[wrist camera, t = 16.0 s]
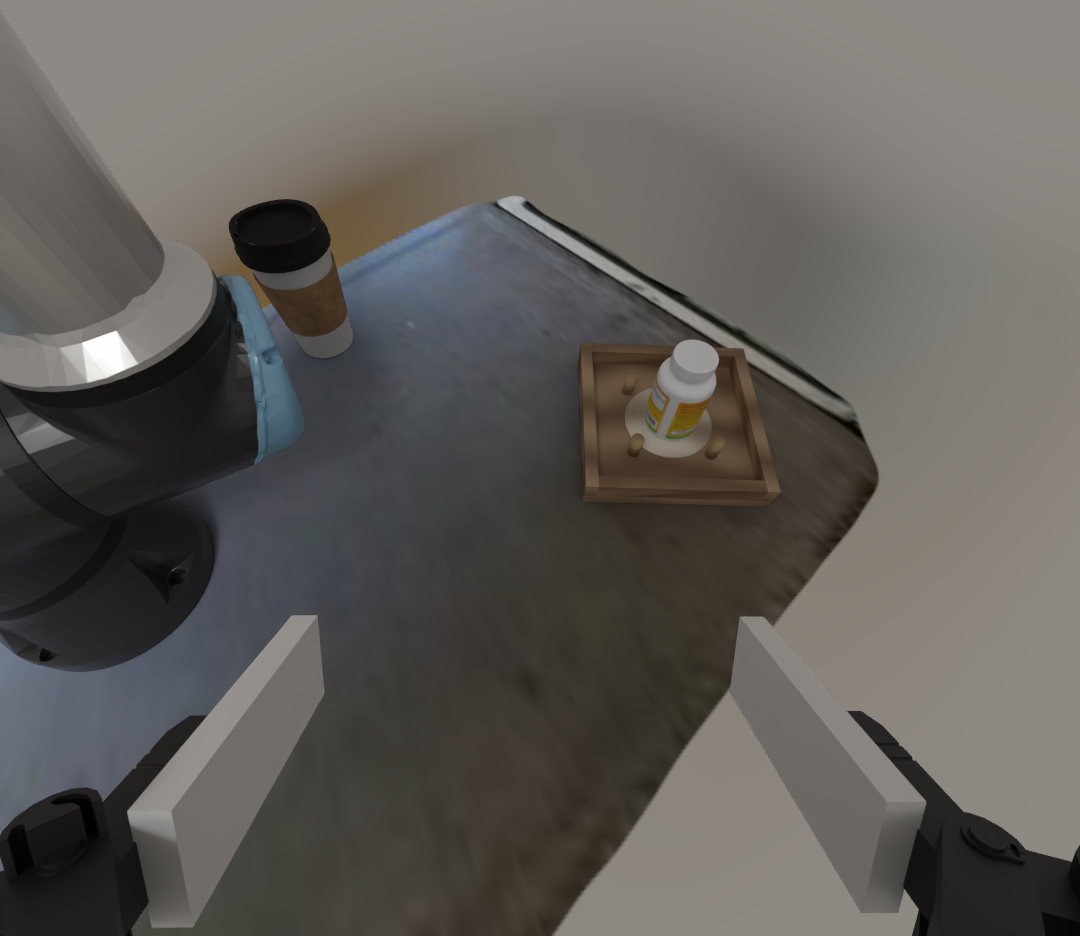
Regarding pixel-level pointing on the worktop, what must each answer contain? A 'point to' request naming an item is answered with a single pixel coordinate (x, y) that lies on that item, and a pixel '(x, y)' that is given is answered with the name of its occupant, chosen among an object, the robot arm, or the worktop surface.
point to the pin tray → (669, 466)
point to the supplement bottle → (681, 391)
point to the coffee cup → (295, 272)
